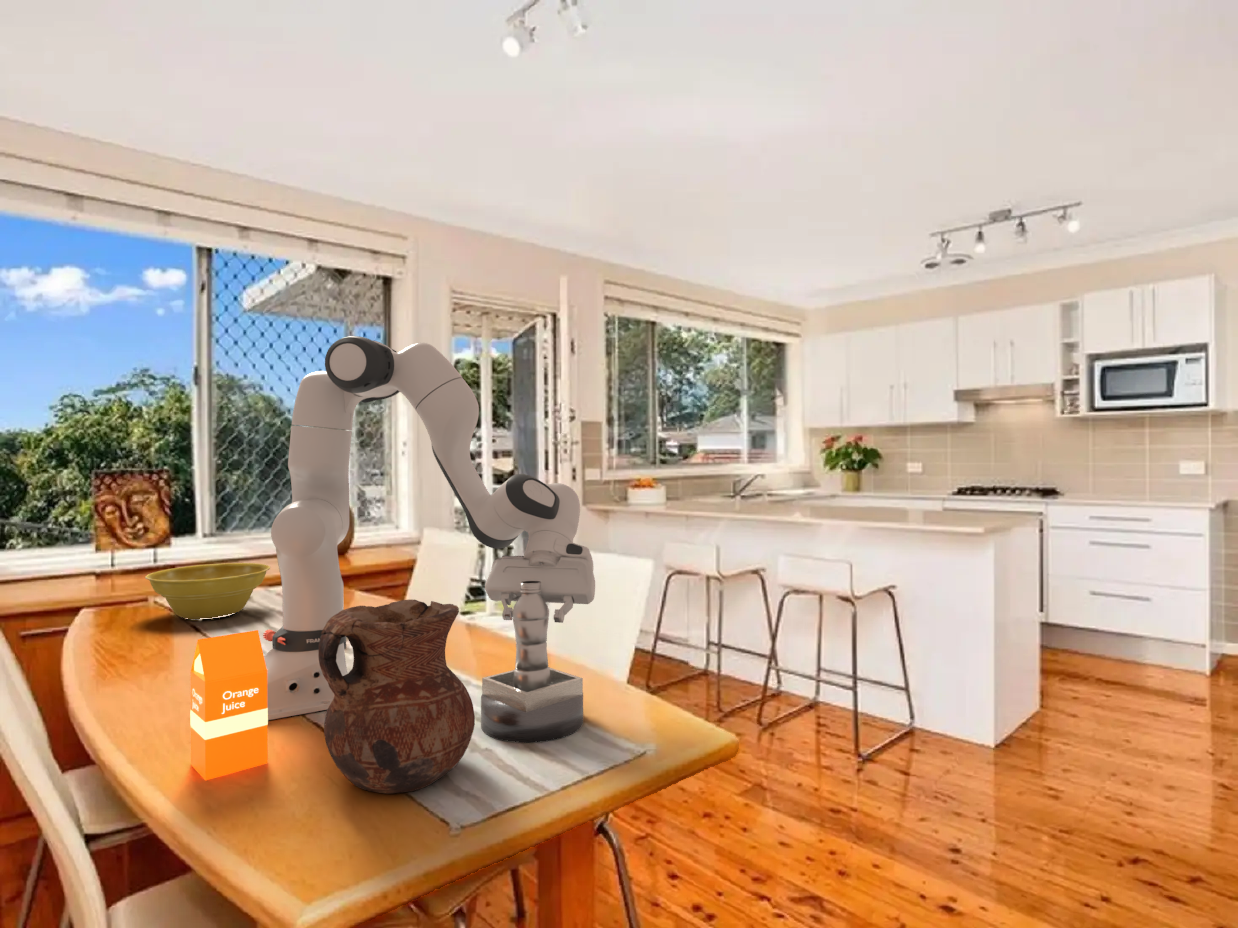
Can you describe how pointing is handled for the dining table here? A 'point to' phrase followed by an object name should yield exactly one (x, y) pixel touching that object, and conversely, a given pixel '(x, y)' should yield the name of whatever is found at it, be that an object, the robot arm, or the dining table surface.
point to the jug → (395, 696)
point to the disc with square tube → (531, 708)
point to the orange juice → (228, 705)
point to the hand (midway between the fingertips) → (532, 619)
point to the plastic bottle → (531, 638)
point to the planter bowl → (208, 588)
